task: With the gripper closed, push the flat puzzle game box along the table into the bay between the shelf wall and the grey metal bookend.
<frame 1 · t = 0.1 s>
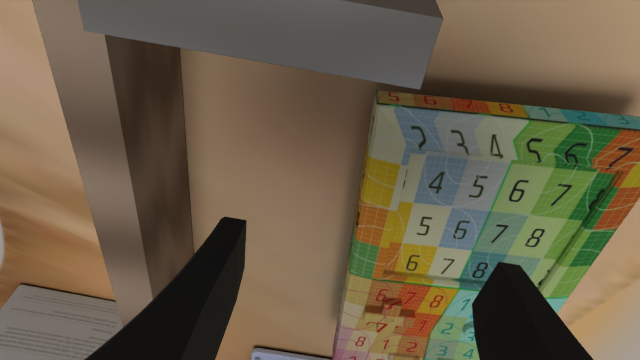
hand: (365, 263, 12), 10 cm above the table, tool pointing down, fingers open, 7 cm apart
shelf corner: (336, 196, 24), on the table
puzzle game: (446, 227, 25), on the table
supplement box: (88, 321, 35), on the table
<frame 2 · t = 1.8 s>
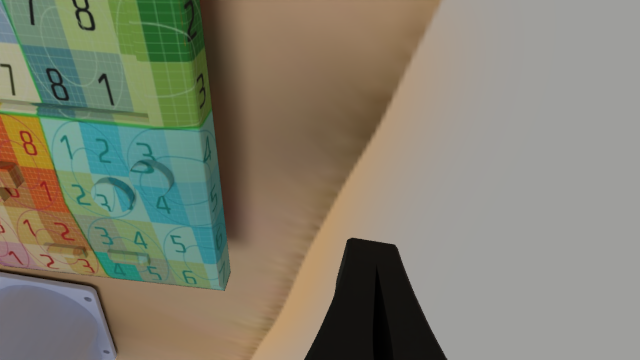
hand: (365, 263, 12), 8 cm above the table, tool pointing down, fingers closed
puzzle game: (99, 65, 19), on the table
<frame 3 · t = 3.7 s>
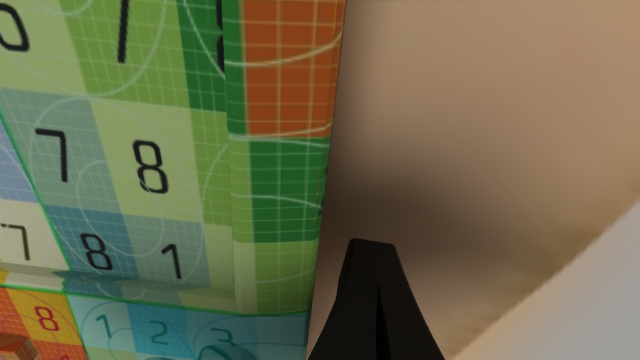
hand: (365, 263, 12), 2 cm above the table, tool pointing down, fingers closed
puzzle game: (142, 177, 13), on the table
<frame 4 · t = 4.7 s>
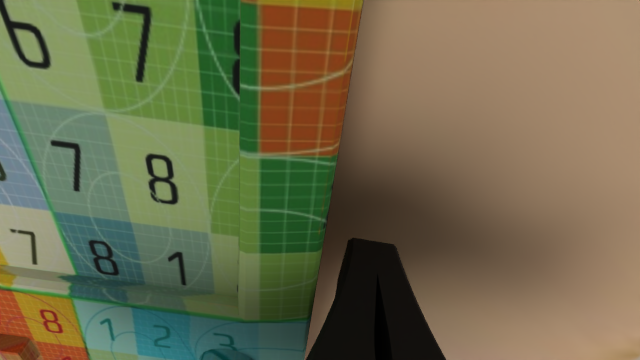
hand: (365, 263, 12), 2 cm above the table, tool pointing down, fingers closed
puzzle game: (145, 182, 14), on the table, touching gripper
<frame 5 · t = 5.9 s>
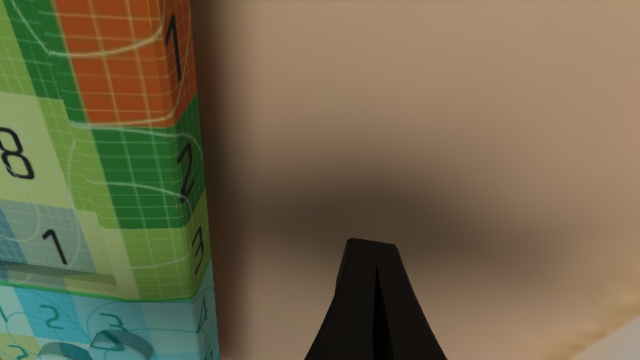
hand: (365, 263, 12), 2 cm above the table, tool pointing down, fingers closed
puzzle game: (57, 166, 14), on the table
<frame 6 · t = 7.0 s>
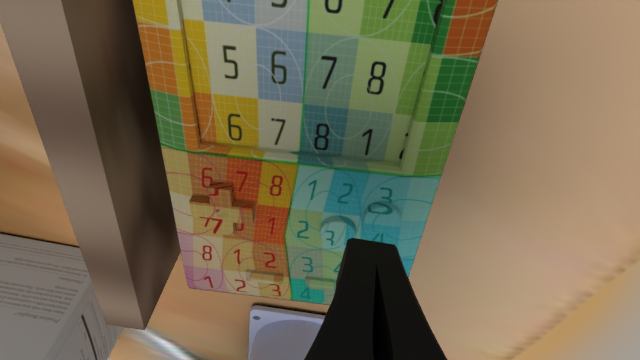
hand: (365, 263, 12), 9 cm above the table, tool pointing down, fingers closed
shelf corner: (348, 87, 19), on the table
puzzle game: (310, 109, 20), on the table
supplement box: (61, 278, 31), on the table
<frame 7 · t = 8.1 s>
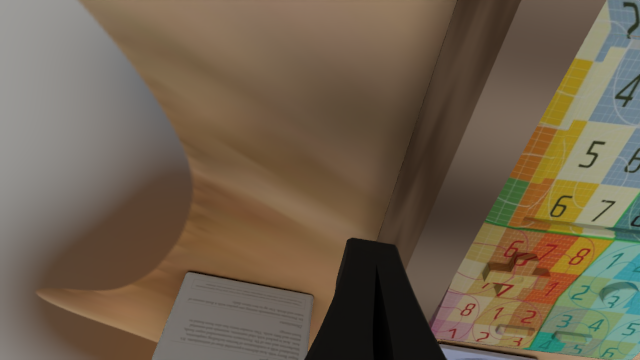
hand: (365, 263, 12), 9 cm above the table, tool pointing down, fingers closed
shelf corner: (632, 160, 20), on the table
puzzle game: (574, 175, 21), on the table
supplement box: (247, 315, 31), on the table
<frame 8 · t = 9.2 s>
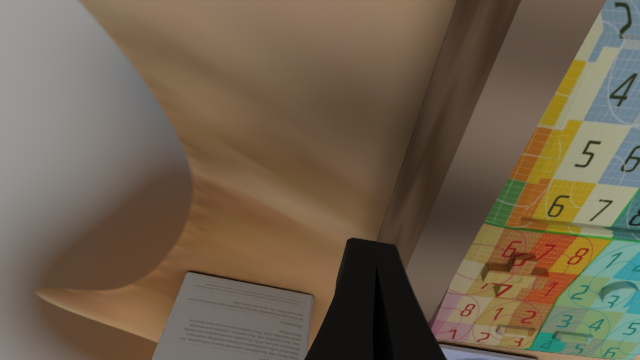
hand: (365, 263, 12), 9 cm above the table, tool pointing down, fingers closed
shelf corner: (632, 160, 20), on the table
puzzle game: (573, 174, 21), on the table
supplement box: (247, 315, 31), on the table
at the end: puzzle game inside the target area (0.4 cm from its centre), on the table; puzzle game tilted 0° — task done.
